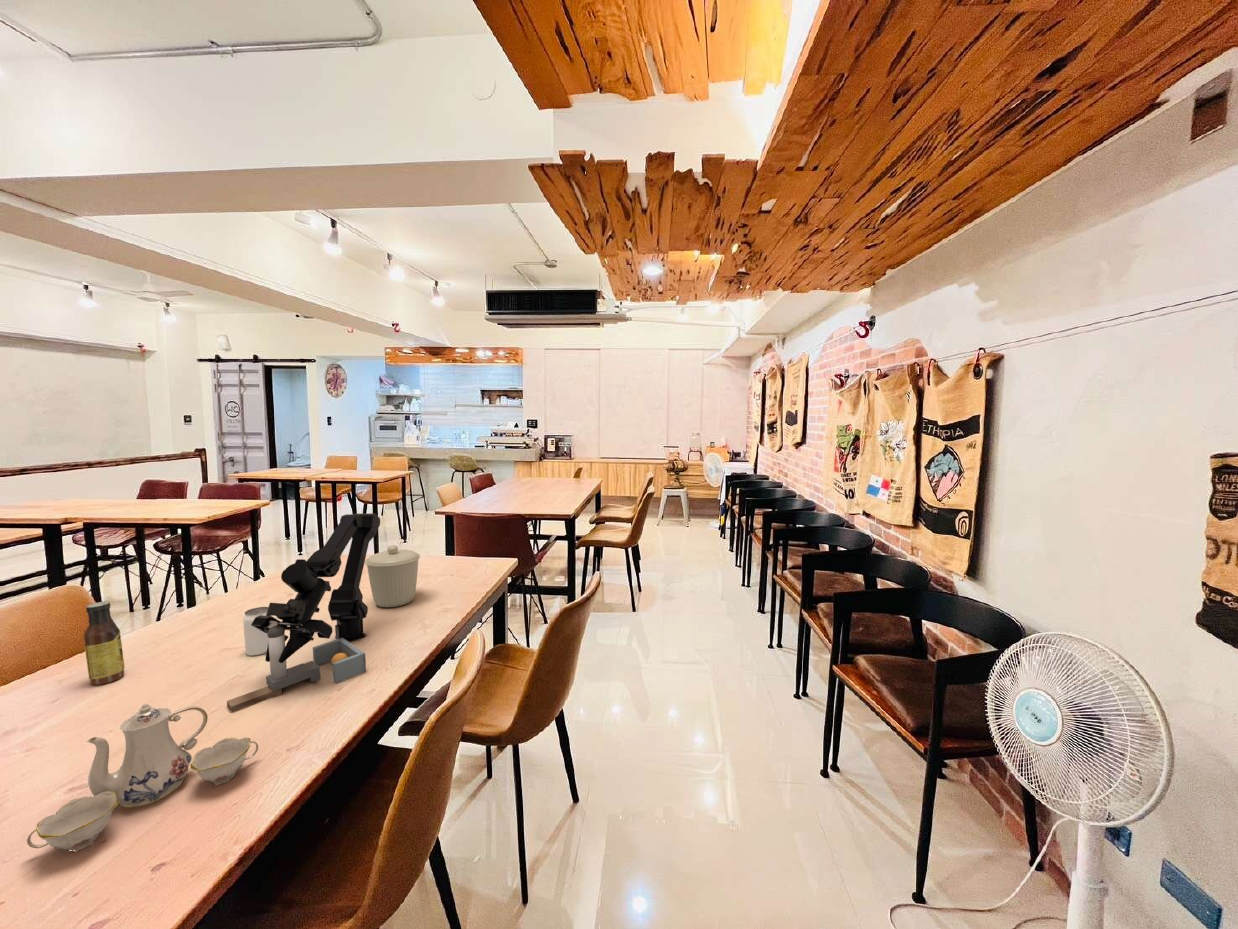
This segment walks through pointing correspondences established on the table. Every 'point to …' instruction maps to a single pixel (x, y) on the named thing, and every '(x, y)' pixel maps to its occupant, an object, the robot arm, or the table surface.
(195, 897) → the table surface
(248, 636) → the can
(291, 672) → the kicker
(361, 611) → the robot arm
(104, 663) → the sauce bottle
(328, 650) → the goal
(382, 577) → the canister
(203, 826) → the table surface
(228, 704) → the rail
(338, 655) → the ball
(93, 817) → the chinaware
